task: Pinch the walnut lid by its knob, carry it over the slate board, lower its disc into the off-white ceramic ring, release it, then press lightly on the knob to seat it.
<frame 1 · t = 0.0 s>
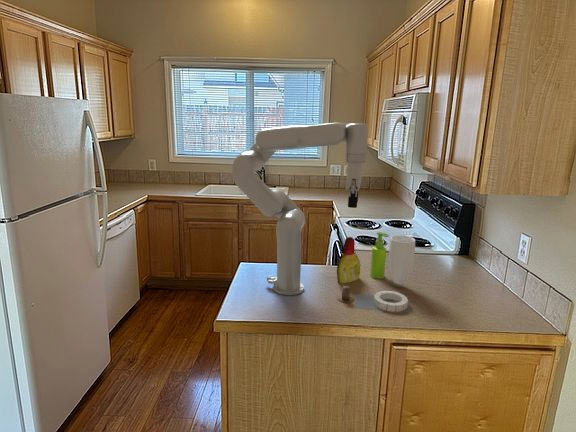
hand: (352, 204, 149), 37 cm above the counter, tool pointing down, fingers open, 9 cm apart
board: (381, 305, 150), on the counter
cup: (398, 289, 165), on the counter
ring: (390, 303, 149), resting on board
soap dispenser: (378, 276, 177), on the counter
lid: (345, 301, 153), on the counter
bottle: (347, 282, 171), on the counter
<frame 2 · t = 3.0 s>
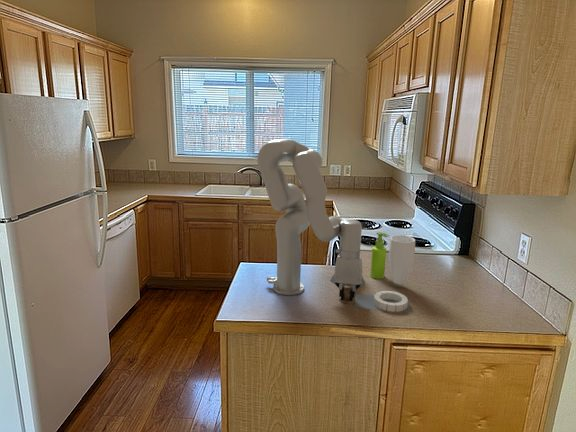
hand: (346, 298, 152), 1 cm above the counter, tool pointing down, fingers closed on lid, 3 cm apart
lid: (346, 301, 153), on the counter, touching board, gripper
everything else where it was.
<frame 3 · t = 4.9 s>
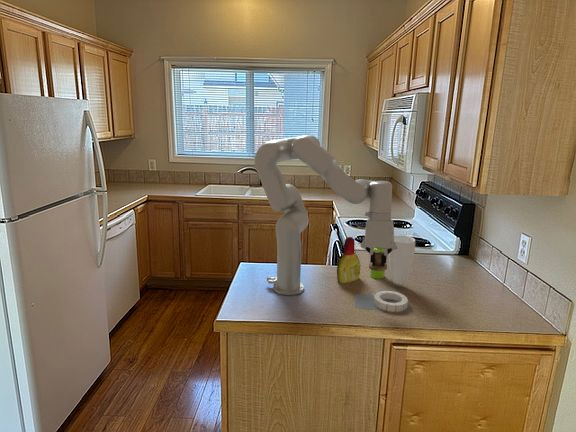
hand: (378, 264, 146), 16 cm above the counter, tool pointing down, fingers closed on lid, 3 cm apart
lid: (377, 267, 146), point 15 cm above the counter, touching gripper
everything else where it was.
when the fingers open (4 cm above the counter, at t = 6.8 s): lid drops 2 cm, resting on board.
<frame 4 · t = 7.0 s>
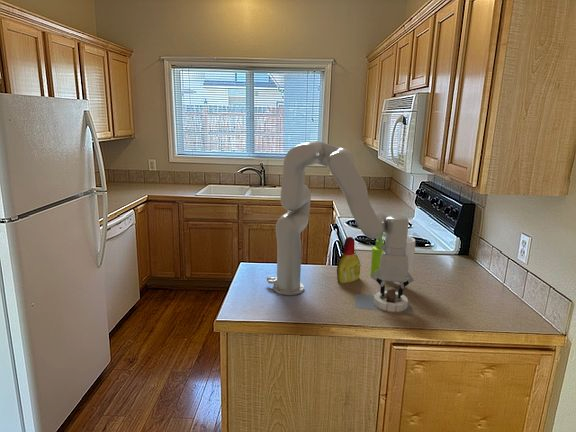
hand: (391, 295, 148), 4 cm above the counter, tool pointing down, fingers open, 5 cm apart
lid: (390, 303, 149), point 1 cm above the counter, touching board
everything else where it was.
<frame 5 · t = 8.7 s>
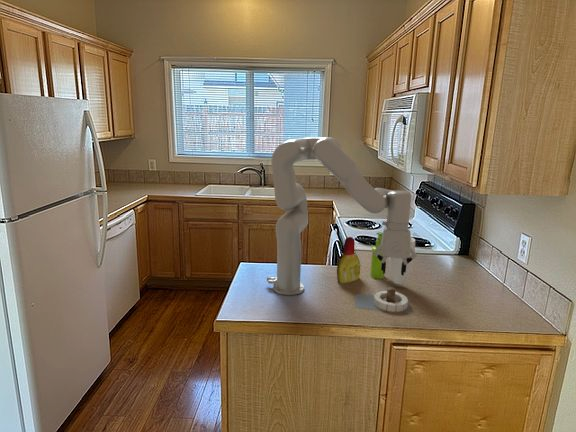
hand: (393, 272, 146), 14 cm above the counter, tool pointing down, fingers open, 5 cm apart
nothing on the counter moved.
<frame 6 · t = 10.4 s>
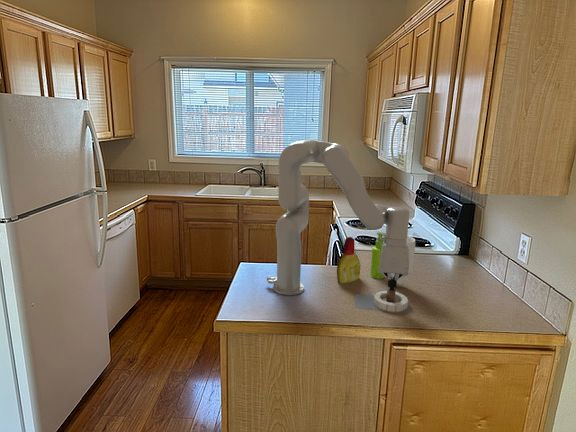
hand: (391, 288, 148), 7 cm above the counter, tool pointing down, fingers closed
nothing on the counter moved.
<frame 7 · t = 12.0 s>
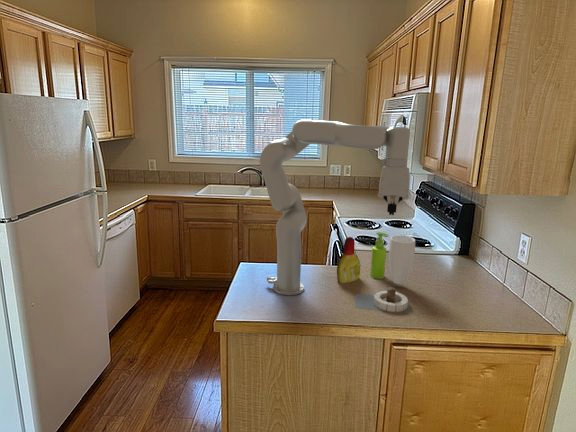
hand: (391, 214, 144), 35 cm above the counter, tool pointing down, fingers closed
nothing on the counter moved.
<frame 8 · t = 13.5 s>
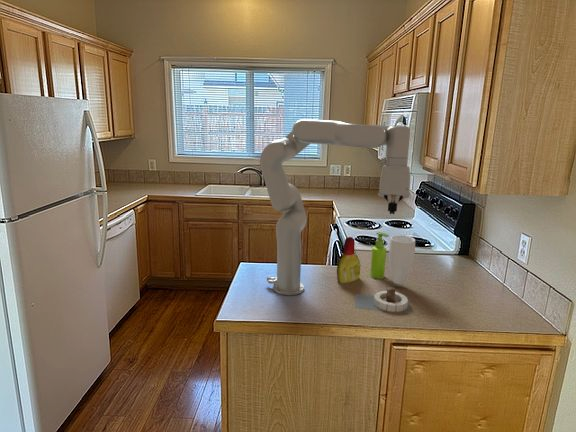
hand: (391, 213, 144), 35 cm above the counter, tool pointing down, fingers closed
nothing on the counter moved.
at the end: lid 0.0 cm off-centre on the ring, point 0.1 cm above the ring's base; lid tilted 1°; the gripper is holding nothing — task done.
